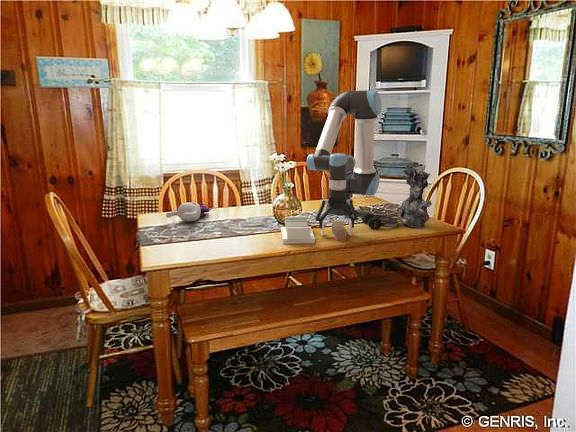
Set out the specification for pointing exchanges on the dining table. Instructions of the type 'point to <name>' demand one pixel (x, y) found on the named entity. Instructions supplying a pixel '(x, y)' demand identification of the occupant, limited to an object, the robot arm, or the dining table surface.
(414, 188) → the sculpture
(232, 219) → the dining table surface
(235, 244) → the dining table surface
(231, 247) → the dining table surface
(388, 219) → the headset
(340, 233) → the tan wooden plank
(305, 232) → the stand
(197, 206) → the figurine
